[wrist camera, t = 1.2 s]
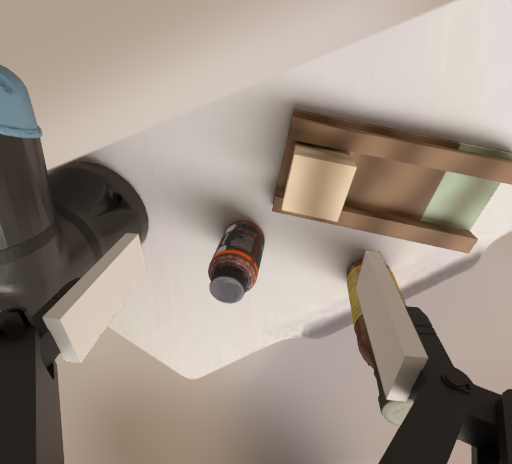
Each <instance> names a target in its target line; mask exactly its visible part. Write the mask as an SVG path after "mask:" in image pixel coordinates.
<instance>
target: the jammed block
mask: <svg viewBox="0 0 512 464" xmlns="http://www.w3.org/2000/svg"><path fill="white" fill-rule="evenodd" d="M356 169H357V166H356V164H355V163H354V161H353V159H352V157H351V155H350V153H349V151H345V150H340V149H335V148H330V147H325V146H320V145H315V144H310V143H305V142H301V141H296V144H295V148H294V152H293V156H292V161H291V165H290V169H289V174H288V178H287V182H286V187H285V192H284V198H283V204H282V210H284V211H289V212H293V213H298V214H303V215H307V216H312V217H317V218H321V219H326V220H331V221H335V222H338V219H339V216H340V213H341V210H342V208H343V205H344V202H345V199H346V197H347V194H348V191H349V188H350V185H351V183H352V180H353V177H354V174H355V171H356Z"/></svg>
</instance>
